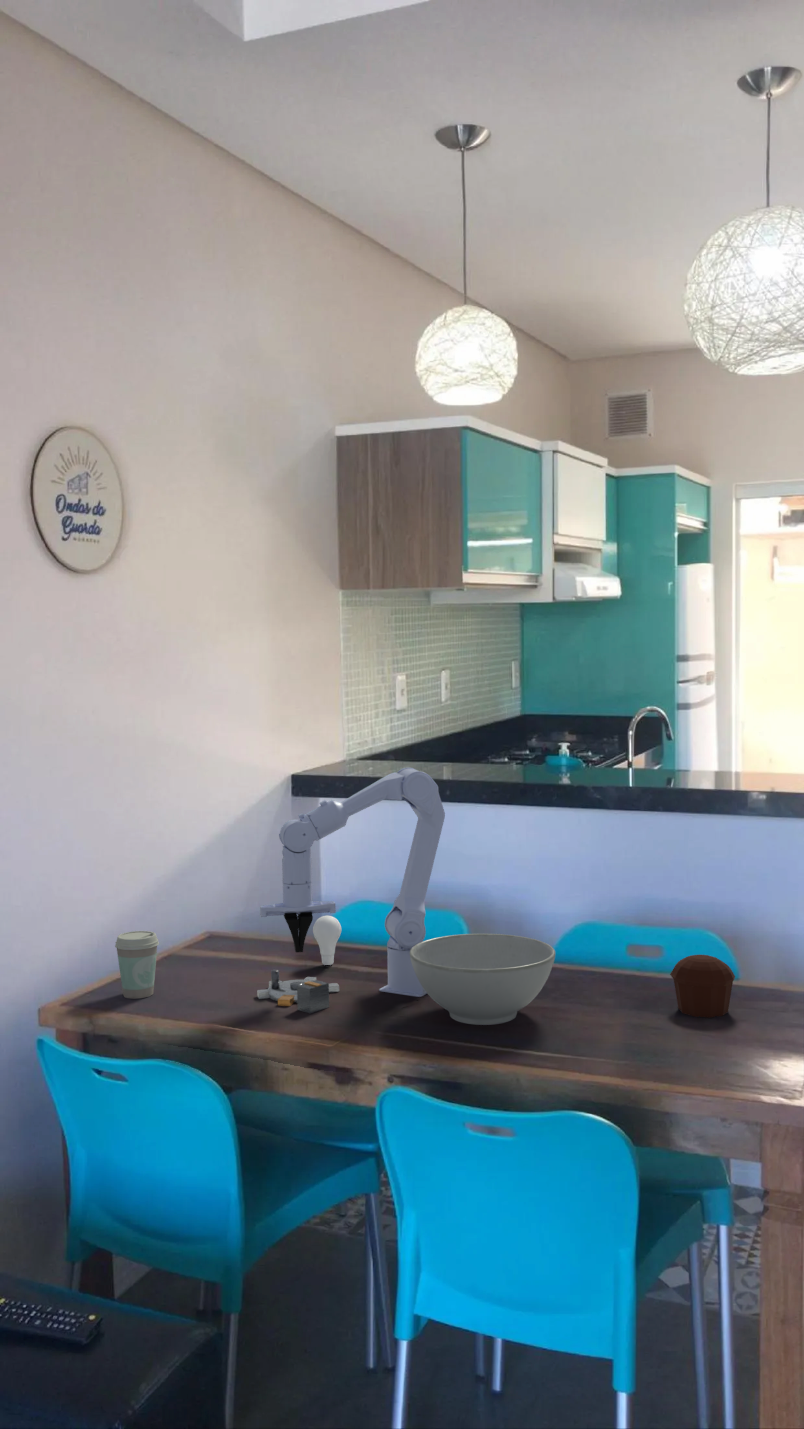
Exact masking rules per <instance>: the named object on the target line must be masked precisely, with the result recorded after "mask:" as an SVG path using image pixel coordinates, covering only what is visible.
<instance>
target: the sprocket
mask: <svg viewBox="0 0 804 1429" xmlns="http://www.w3.org/2000/svg"><path fill="white" fill-rule="evenodd" d="M270 976H271V977H270V980H269V981H268V988H267V989H257V990H256V992H257V993H256V994H257V998H258V1000H262V999H263V1000H264V999H271V1000H272V1001H275V1002H277V1006H279V1007H280V1006H282V1007H290V1006H292V1005H293V1004H294V1003H295V1004H298V1003H297V986H298V985H301V984H304V983H305V982H308V981H310V982H311V981H315V980H317V976H307V977H305V978H304V979H290V980H283V981H282V980H280V970H279V969H271V970H270ZM338 992H340V985H339V984H338V983H337V982H332V983H329V993H338Z"/></svg>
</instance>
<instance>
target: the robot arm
mask: <svg viewBox="0 0 804 1429" xmlns="http://www.w3.org/2000/svg"><path fill="white" fill-rule="evenodd" d="M384 800H390V801H391V800H393V801H403V800H404V801H405V802H406V803H407V804H409V806H410V808H411V809H412V811H413V812H414V814H415V815H416V817H417V821H416V822H417V823H416V826H415V828H414V829H415V830H414V834H413V838H412V843H411V846H410V850H409V856H408V859H407V862H406V867H405V870H404V871H405V872H404V875H403V879H402V882H401V883H402V884H401V887H400V890H399V894H398V896H397V897H396V898H395V900H394V902H393V905H392V907H391V910H390V911H389V912H388V913H387V915H386V917H385V919H384V928H385V931H386V932H387V934H388V935H389V939H388V941H386V942H387V943H386V948H387V949H386V951H387V952H386V953H387V954H386V955H387V958H386V960H387V985H384V986H383V987H381V988H379V989H378V990H379V992H383V993H384V992H385V993H390V994H397V995H404V996H410V997H417V998H418V997H419V998H420V997H424V996H425V995H428V994H427V992H426V991H425V990H424V988H423V987H422V985H421V983H420V982H419V980H418V978H417V976H416V974H415V971H414V969H413V966H412V963H411V959H410V950H411V948H412V947H413V946H415V945H416V944H418V943H421V942H423V941H425V938H426V934H427V933H426V932H427V931H426V925H425V917H426V906H425V899H426V895H427V892H428V886H429V883H430V879H431V876H432V875H431V874H432V871H433V867H434V862H435V858H436V854H437V852H438V851H437V850H438V847H439V842H440V839H441V835H442V830H443V826H444V823H445V816H446V815H445V814H446V813H445V809H444V807H443V802H442V799H441V796H440V793H439V786H438V784H437V783H436V782H435V780H434V779H433V778H432V776H430V774H428V773H426V772H424V771H422V770H420V771H419V770H418V769H416V768H413V767H409V766H407V767H403V768H401V769H399V770H398V771H397V772H396V771H395V772H391V773H389V774H387V775H385V776H383V777H381V778H379V779H378V780H377V781H375V782H373V783H372V784H370V785H368V786H366V787H364V788H362V789H361V790H359V791H357V792H355V793H354V794H352V795H350V796H349V797H348V798H345V799H344V800H342V801H337V800H332V799H331V800H329V801H327V800H325V799H324V800H322V801H320V802H319V805H320V806H318V807H316V808H314V809H312V810H310V811H308V812H307V813H305V814H304V813H303V812H301V813H300V814H298V815H297V816H298V819H290V820H287V821H286V822H285V823H284V824H283V825H282V826H281V828H280V832H279V833H278V837H279V840H280V843H281V844H282V851H281V854H282V860H281V863H282V864H281V866H282V867H281V868H282V869H281V870H282V874H281V876H282V902H280V903H273V904H272V903H271V904H265V905H259V909H260V910H259V912H260V913H259V914H260V915H259V916H260V918H267V917H276V916H283V918H284V920H285V923H286V924H287V926H288V928H289V931H290V934H291V937H292V940H293V946H294V952H295V953H303V952H304V945H305V941H306V936H307V934H308V931H309V929H310V926H311V925H312V922H313V920H314V919H313V918H314V916H313V914H324V913H330V914H336V912H337V911H336V910H337V908H336V907H337V906H336V902H335V901H334V900H333V901H332V900H331V901H318V900H316V901H313V867H312V863H313V862H312V861H313V860H312V856H311V855H312V854H311V853H312V852H311V848H312V846H313V844H314V841H317V842H319V841H320V840H321V839H323V838H325V837H328V836H329V835H331V834H333V833H335V832H336V831H338V830H341V829H343V827H345V826H346V825H347V823H348V819H349V818H350V817H351V816H353V815H355V814H357V813H359V812H362V811H363V810H365V809H367V808H369V807H371V806H374V805H376V804H378V803H380V802H381V801H384Z"/></svg>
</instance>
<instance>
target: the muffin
mask: <svg viewBox="0 0 804 1429" xmlns="http://www.w3.org/2000/svg"><path fill="white" fill-rule="evenodd" d="M669 975H670V976H671V978H672V979H673V983H674V984H673V985H674V991H675V996H676V1002H677V1008H678V1010H680V1012H681V1013H682V1014H684V1015H687V1016H688V1015H689V1016H691V1017H695V1018H696V1017H697V1018H698V1017H699V1016H700V1017H699V1018H711V1019H712V1018H716V1017H715V1016H717V1017H723V1016H724V1015H726V1014H728V1013H729V1010H730V1003H731V996H732V989H733V983H734V980H735V979H736V975H735V974H734V972H733V970H732V968H731V967H730V966H729V965H728V964H727V963H726V962H724V961H722V960H721V959H720V958H718V957H715V956H712V955H708V954H692V955H689V956H686V957H684V958H682V959H680V960H678V962H677V963H676V964H674V967H673V969H672V970H671V972H670V974H669Z"/></svg>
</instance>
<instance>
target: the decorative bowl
mask: <svg viewBox="0 0 804 1429" xmlns="http://www.w3.org/2000/svg"><path fill="white" fill-rule="evenodd" d="M410 959H411V963H412V966H413V969H414V971H415V974H416V976H417V978H418V980H419V982H420V983H421V985H422V987H423V988H424V990H425V991H426V992H427V994H426V995H428V996H429V997H430V998H431V999H432V1000H433V1002H435V1003H436V1004H438V1005H439V1006H440V1007H441V1008H443V1009H445V1010H446V1011H448V1013H449V1017H450V1018H451V1019H452V1020H454V1021H456V1022H459V1023H462V1024H466V1025H467V1024H468V1025H474V1026H475V1025H476V1026H479V1025H480V1026H482V1025H483V1026H487V1025H488V1026H490V1025H491V1026H492V1025H499V1024H505V1023H508V1022H510V1021H513V1020H514V1019H515V1018H516V1017H517V1014H518V1011H520V1010H522V1009H524V1008H525V1007H526V1006H528V1005H529V1004H530V1003H531V1002H532V1001H534V999H535V998H536V997H537V996H539V993H540V992H541V991H542V990H543V987H544V986H545V984H547V983H546V982H547V981H548V979H549V977H550V974H551V971H552V969H553V966H554V964H555V963H554V962H555V959H556V950H555V948H554V947H552V945H550V944H548V943H547V942H544V941H541V940H538V939H535V938H531V937H526V936H521V935H514V934H513V935H512V934H504V933H503V934H501V933H463V934H452V935H451V934H450V935H444V936H439V937H434V938H431V939H430V938H429V939H426V940H423V942H421V943H418V944H416V945H415V946H413V947H412V948H411V950H410Z"/></svg>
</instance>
